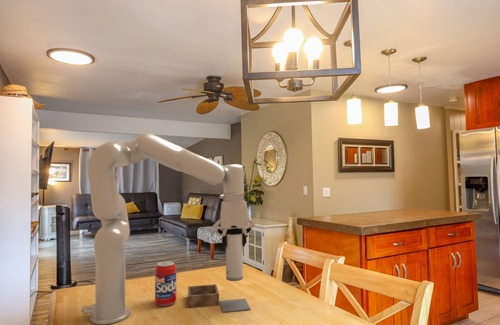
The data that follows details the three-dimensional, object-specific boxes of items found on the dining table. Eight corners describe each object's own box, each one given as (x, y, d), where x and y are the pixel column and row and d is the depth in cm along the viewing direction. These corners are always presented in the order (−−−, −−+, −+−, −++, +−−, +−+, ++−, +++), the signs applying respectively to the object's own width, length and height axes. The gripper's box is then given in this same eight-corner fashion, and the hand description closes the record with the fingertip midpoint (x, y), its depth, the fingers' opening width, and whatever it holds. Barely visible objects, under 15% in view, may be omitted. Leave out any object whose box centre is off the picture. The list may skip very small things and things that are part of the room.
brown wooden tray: (188, 307, 120) (188, 296, 120) (188, 296, 131) (188, 286, 131) (219, 304, 122) (219, 293, 122) (216, 294, 133) (216, 284, 133)
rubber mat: (222, 312, 115) (222, 311, 115) (219, 302, 125) (219, 300, 125) (250, 310, 117) (250, 308, 117) (245, 299, 127) (245, 298, 127)
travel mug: (225, 281, 118) (224, 225, 119) (226, 276, 125) (226, 223, 125) (242, 281, 118) (241, 225, 119) (243, 276, 124) (242, 223, 125)
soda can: (172, 297, 129) (172, 259, 130) (179, 304, 123) (179, 263, 124) (152, 302, 125) (152, 262, 126) (158, 309, 119) (158, 267, 119)
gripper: (211, 198, 117) (211, 249, 116) (258, 197, 120) (259, 247, 120) (209, 197, 124) (210, 245, 124) (254, 196, 128) (254, 242, 127)
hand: (234, 245), depth 122 cm, fingers closed on travel mug, 6 cm apart
